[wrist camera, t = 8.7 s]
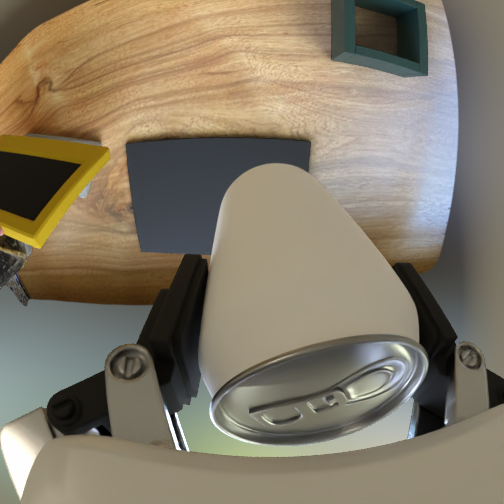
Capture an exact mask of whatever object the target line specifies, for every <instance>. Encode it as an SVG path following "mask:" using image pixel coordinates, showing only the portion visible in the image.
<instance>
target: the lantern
mask: <svg viewBox="0 0 504 504" xmlns="http://www.w3.org/2000/svg"><path fill="white" fill-rule="evenodd" d="M31 252H32V248H31V245H28V244H26V243H24V242H21V241H19V240H17V239H14V238H12V237H10V236H7V235H5V234H3V235H2V236H0V289H1V288H2V287H3V286H4V285H5V284H6V283H7V282H8V281H9V280H10V279H11V278H12V277H13V276H14V275H15V274H16V273H17V272H18V271H19V270H20V269H21V268H23V267H24V265H25V263H26V261H27V258H28V257H29V255H30V254H31Z"/></svg>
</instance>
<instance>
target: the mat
mask: <svg viewBox="0 0 504 504" xmlns="http://www.w3.org/2000/svg"><path fill="white" fill-rule="evenodd" d="M310 146H311V142H310V141H303V140H290V139H273V138H245V137H210V138H182V139H166V140H153V141H142V142H133V143H127V144H126V153H127V164H128V173H129V181H130V189H131V196H132V203H133V209H134V216H135V222H136V227H137V233H138V238H139V243H140V248H141V252H157V253H179V254H202V255H211V254H212V248H213V243H214V237H215V231H216V226H217V221H218V216H219V211H220V207H221V203H222V200H223V198H224V195H225V193H226V192H227V190H228V188H229V187H230V186H231V184H232V183H233V182H234V181H235V180H236V179H237V178H238V177H239V176H241V175H242V174H243V173H245V172H246V171H248V170H250V169H252V168H255V167H257V166H260V165H264V164H271V163H282V164H289V165H293V166H296V167H298V168H301V169H303V170H304V171H306V172H308V170H309V158H310Z"/></svg>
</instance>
